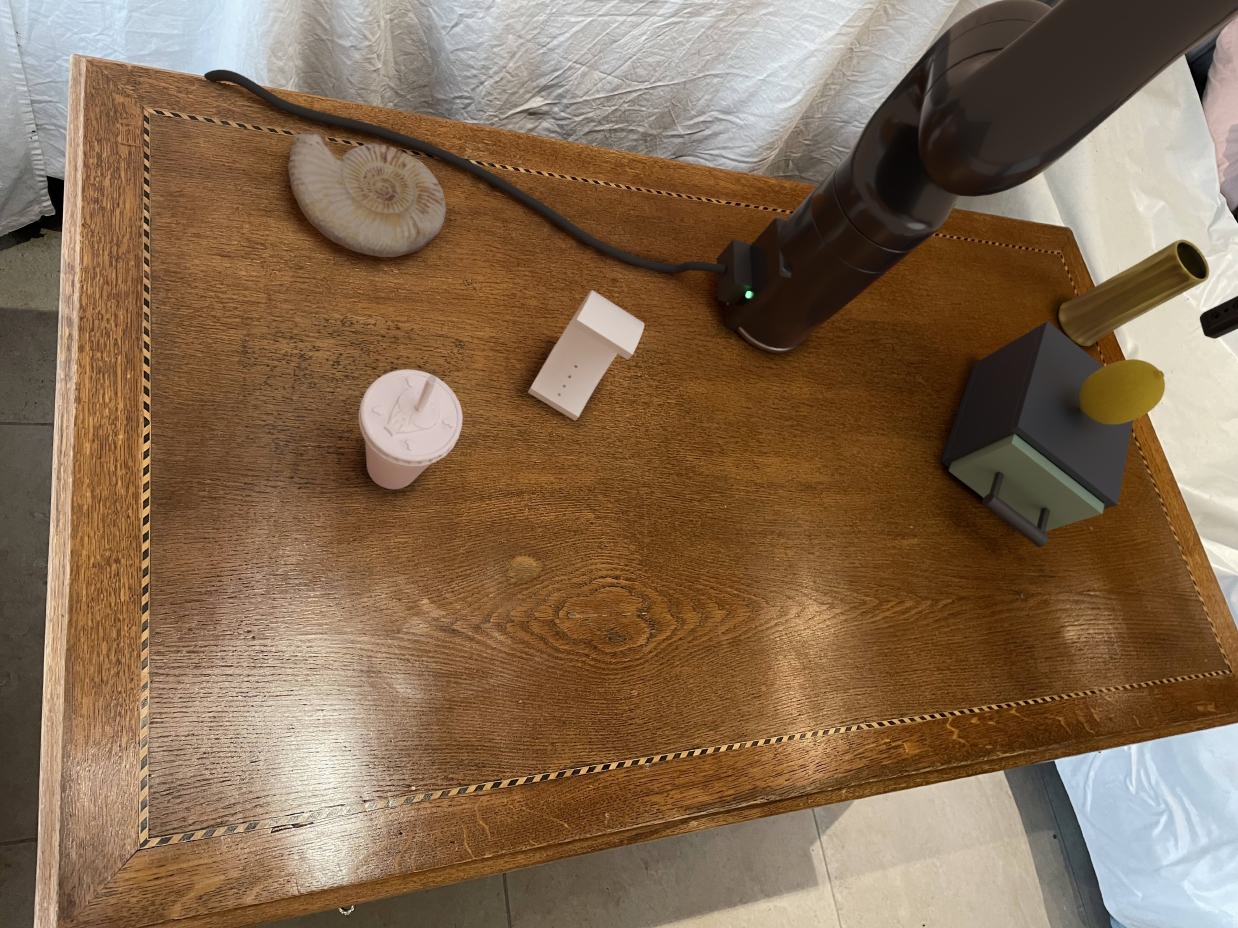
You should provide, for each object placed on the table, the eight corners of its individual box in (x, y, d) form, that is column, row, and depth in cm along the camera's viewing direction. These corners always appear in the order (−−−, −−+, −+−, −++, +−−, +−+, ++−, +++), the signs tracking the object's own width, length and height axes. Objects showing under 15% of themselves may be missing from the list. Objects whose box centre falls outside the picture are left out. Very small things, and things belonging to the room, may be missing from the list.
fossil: (287, 241, 58) (288, 108, 58) (287, 260, 63) (287, 136, 63) (452, 258, 63) (452, 135, 63) (440, 275, 67) (440, 160, 68)
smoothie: (454, 471, 60) (500, 395, 47) (388, 524, 56) (420, 457, 44) (396, 409, 59) (428, 317, 47) (327, 458, 56) (342, 373, 44)
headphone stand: (527, 392, 64) (576, 319, 54) (557, 339, 67) (609, 260, 57) (575, 421, 65) (632, 354, 55) (603, 368, 68) (663, 295, 58)
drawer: (1024, 569, 78) (1095, 549, 71) (937, 503, 76) (1001, 477, 70) (1056, 438, 87) (1122, 410, 80) (979, 377, 85) (1039, 343, 78)
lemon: (1080, 443, 74) (1164, 410, 67) (1050, 392, 75) (1129, 353, 68) (1111, 427, 77) (1194, 392, 70) (1081, 377, 78) (1160, 339, 71)
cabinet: (1032, 531, 81) (1118, 504, 73) (940, 461, 80) (1017, 425, 71) (1057, 430, 89) (1138, 394, 80) (973, 363, 87) (1047, 320, 79)
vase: (1090, 311, 99) (1206, 245, 87) (1097, 353, 96) (1218, 291, 84) (1054, 297, 97) (1167, 228, 85) (1060, 339, 95) (1178, 274, 82)
